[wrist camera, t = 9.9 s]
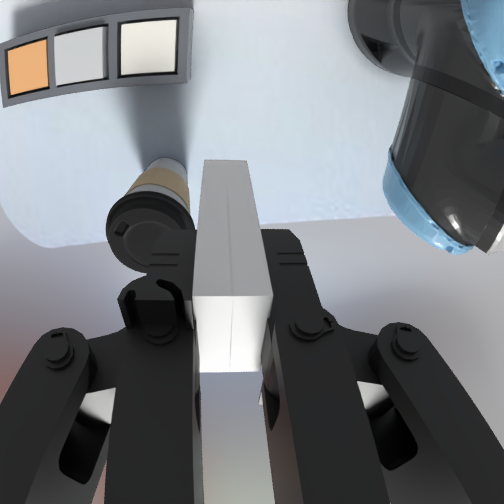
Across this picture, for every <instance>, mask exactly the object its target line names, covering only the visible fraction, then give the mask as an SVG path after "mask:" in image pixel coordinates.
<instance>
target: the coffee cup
mask: <svg viewBox="0 0 504 504" xmlns="http://www.w3.org/2000/svg"><path fill="white" fill-rule="evenodd" d="M164 230H195V226H194V223H193V220H192V218H191V216H190V198H189V188H188V180H187V172H186V170H185V168H184V167H183V166H182V165H181V164H180V163H179V162H177V161H176V160H174V159H170V158H159V159H157V160H155V161H153V162H152V163H151V164H150V165H149V166H148V168H147V169H146V170H145V171H144V172H143V173H142V174H141V175H140V176H139V177H138V178H137V180H136V181H135V182H134V184H133V185H132V186H131V188H130V189H129V190H128V192H127V193H126V194H125V196H124V197H122V198H121V199H119V200H118V201H117V202H116V203H115V204H114V205H113V206H112V208H111V210H110V211H109V214H108V217H107V222H106V236H107V240H108V243H109V244H110V247H111V249H112V252H113V253H114V255H115V256H116V258H117V259H118V260H119V261H120V262H121V263H123V264H124V265H126V266H127V267H129V268H131V269H133V270H135V271H138V272H142V273H147V270H148V267H149V262H150V258H151V256H152V249H153V245H154V241H155V240H156V239H157V237H158V236H159V235H160V234H161V233H162V232H163V231H164Z"/></svg>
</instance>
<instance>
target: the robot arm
mask: <svg viewBox="0 0 504 504" xmlns="http://www.w3.org/2000/svg"><path fill="white" fill-rule="evenodd" d="M348 21H349V26H350V30H351V33H352V36H353V38H354V40H355V42H356V44H357V46H358V47H359V49H360V50H361V51H362V53H363V54H364V55H365V56H366V57H367V58H368V59H369V60H370V61H371V62H372V63H374V64H375V65H376V66H378V67H380V68H381V69H383V70H385V71H388V72H391V73H394V74H397V75H400V76H405V77H411V80H410V84H409V88H408V92H407V96H406V100H405V103H404V107H403V111H402V115H401V118H400V122H399V125H398V128H397V131H396V135H395V138H394V141H393V144H392V145H391V147H390V149H389V151H388V163H387V167H386V170H385V174H384V177H383V191H384V194H385V197H386V199H387V201H388V204H389V206H390V207H391V209H392V210H393V212H394V213H395V214H396V216H397V217H398V218H399V219H400V220H401V221H402V222H403V223H404V224H405V225H406V226H407V227H408V228H409V229H410V230H411V231H412V232H414V233H415V234H416V235H417V236H419V237H420V238H421V239H423V240H424V241H426V242H427V243H429V244H430V245H432V246H434V247H436V248H438V249H440V250H444V249H446V250H447V251H448V252H449V253H451V254H456V255H459V254H464V253H466V252H468V250H471V249H472V248H473V247H474V245H475V246H476V247H478V248H479V249H481V250H482V251H484V252H485V253H487V254H488V255H490V254H494V253H498V252H501V251H504V0H350V1H349V6H348ZM117 300H118V304H119V307H120V310H121V313H122V316H123V319H124V323H125V326H126V327H125V328H123V329H121V330H120V331H118V332H115V333H112V334H109V335H105V336H101V337H97V338H92V339H88V340H86V339H85V337H84V336H83V334H82V333H80V332H78V331H77V330H75V329H72V328H64V327H62V328H58V329H53V330H51V331H49V332H47V333H46V334H44V335H42V336H41V338H40V339H39V340H38V341H37V342H36V343H35V344H34V346H33V348H32V350H31V351H30V353H29V354H28V356H27V358H26V359H25V361H24V363H23V364H22V366H21V368H20V369H19V371H18V373H17V375H16V377H15V378H14V380H13V382H12V384H11V385H10V387H9V389H8V391H7V393H6V395H5V397H4V398H3V400H2V402H1V404H0V504H91V503H92V500H93V497H94V494H95V491H96V488H97V485H98V482H99V480H100V477H101V474H102V471H103V468H104V465H105V463H106V460H107V467H106V481H105V497H104V499H105V500H104V504H204V493H203V492H204V491H203V468H202V439H201V438H202V437H201V392H200V372H245V371H260V367H261V364H262V371H263V383H262V387H261V392H260V397H259V405H262V404H263V409H264V416H265V425H266V434H267V442H268V450H269V458H270V466H271V474H272V482H273V490H274V498H275V504H390V503H391V504H504V449H503V448H502V446H501V445H500V443H499V441H498V440H497V438H496V437H495V435H494V433H493V431H492V430H491V429H490V427H489V425H488V424H487V422H486V421H485V419H484V417H483V416H482V415H481V413H480V411H479V410H478V408H477V407H476V405H475V404H474V403H473V401H472V400H471V398H470V396H469V395H468V393H467V392H466V391H465V389H464V388H463V386H462V385H461V383H460V382H459V380H458V379H457V378H456V377H455V375H454V373H453V372H452V371H451V369H450V368H449V366H448V365H447V364H446V362H445V361H444V359H443V358H442V357H441V355H440V354H439V353H438V351H437V350H436V349H435V347H434V346H433V345H432V343H431V342H430V341H429V340H428V338H427V337H426V336H425V335H424V334H423V333H422V332H421V331H420V330H419V329H417V328H415V327H413V326H412V325H410V324H405V323H400V322H397V323H390V324H388V325H387V326H385V327H383V328H382V329H381V331H380V333H379V334H378V335H374V334H369V333H364V332H359V331H354V330H351V329H347V328H344V327H342V326H340V325H339V324H338V323H337V321H336V319H335V318H334V316H333V315H331V314H330V313H329V312H327V310H325V309H323V308H322V306H321V303H320V300H319V297H318V294H317V290H316V288H315V284H314V282H313V278H312V275H311V272H310V269H309V267H308V266H307V260H306V257H305V255H304V251H303V249H302V246H301V243H300V240H299V239H298V238H297V237H296V236H295V235H294V234H293V233H292V232H291V231H290V230H288V229H260V225H259V220H258V215H257V209H256V204H255V199H254V194H253V189H252V184H251V179H250V174H249V169H248V164H247V161H243V160H204V167H203V176H202V185H201V195H200V205H199V216H198V227H197V230H164V231H163V232H162V233H161V234H160V235H159V236H158V237H157V239H156V240H155V241H154V245H153V249H152V256H151V258H150V262H149V267H148V270H147V275H146V276H143V277H141V278H138V279H136V280H133V281H132V282H130V283H129V284H128V285H127V286H126V287H125V288H123V289H122V291H121V293H120V295H119V297H118V299H117Z"/></svg>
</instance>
